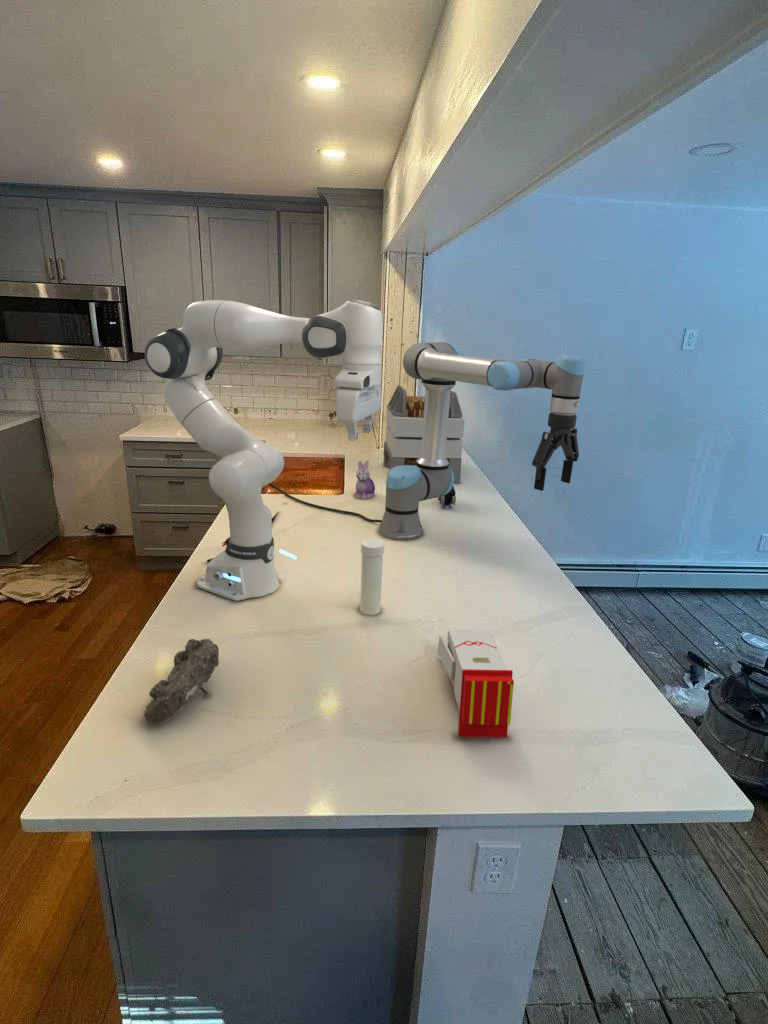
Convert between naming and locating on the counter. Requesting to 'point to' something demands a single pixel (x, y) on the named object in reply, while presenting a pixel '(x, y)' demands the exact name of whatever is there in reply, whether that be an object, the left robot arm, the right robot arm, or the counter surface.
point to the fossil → (183, 680)
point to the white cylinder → (372, 547)
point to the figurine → (364, 482)
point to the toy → (478, 682)
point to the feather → (274, 517)
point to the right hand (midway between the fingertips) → (552, 485)
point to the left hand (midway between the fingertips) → (360, 436)
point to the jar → (371, 584)
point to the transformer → (419, 431)
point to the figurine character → (448, 498)
